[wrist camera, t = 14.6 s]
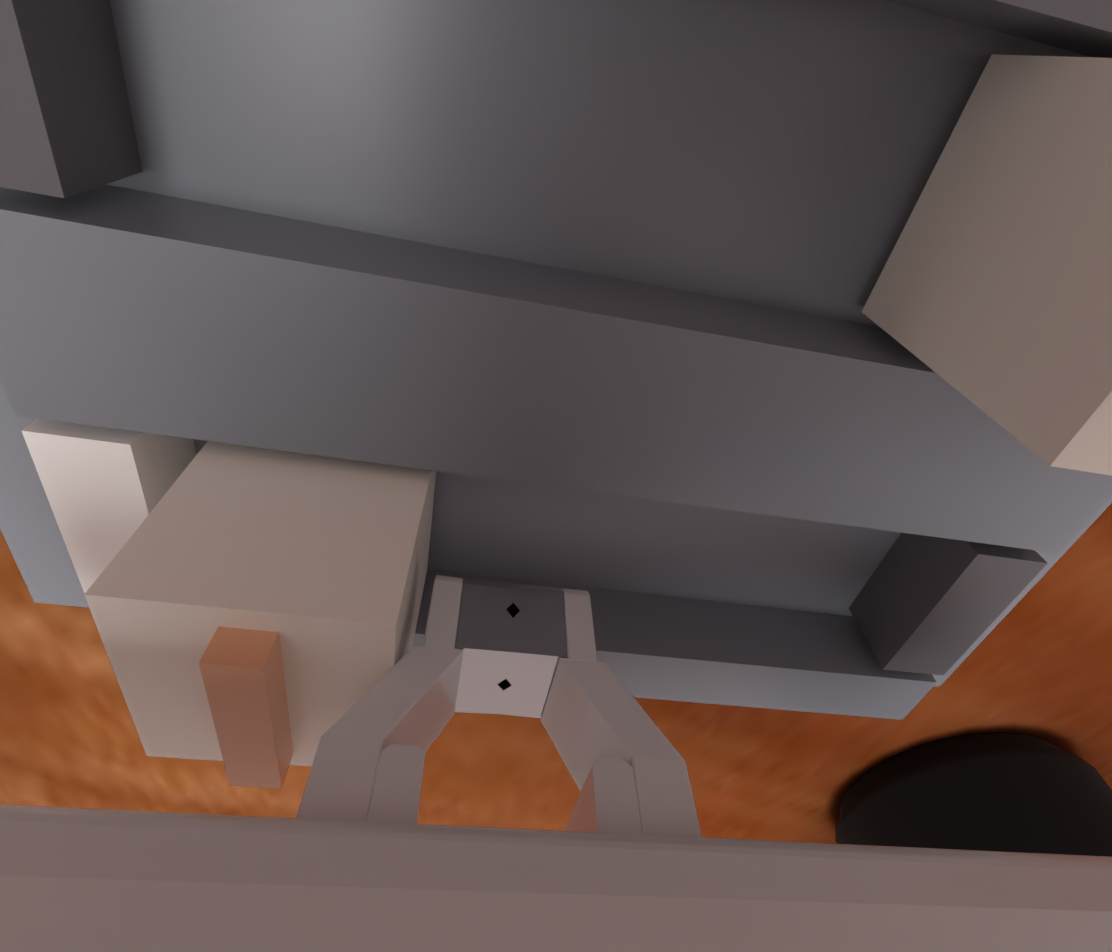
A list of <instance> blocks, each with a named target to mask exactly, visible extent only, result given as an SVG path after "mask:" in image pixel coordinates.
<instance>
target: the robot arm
mask: <svg viewBox="0 0 1112 952" xmlns="http://www.w3.org/2000/svg"><path fill="white" fill-rule="evenodd" d="M462 585H463V587H462ZM461 593H462V594H461ZM454 712H467V713H489V714H503V715H513V716H523V717H533V718H541V722H542V724H543V726H544V727H545V729H546V731H547V733H548V735H549V736H550V738H551V740H552V742H553V744H554V745H555V747H556V749H557V751H558V752H559V754H560V756H561V758H562V760H563V761H564V763H565V765H566V767H567V769H568V770H569V772H570V774H571V776H572V777H573V779H574V781H575V783H576V785H577V786H578V788H579V790H580V794H579V797H578V799H577V801H576V804H575V806H574V808H573V811H572V813H571V815H570V818H569V820H568V822H567V825H566V827H565V829H564V831H556V830H534V829H513V828H491V827H470V826H448V825H426V824H418V815H419V806H420V798H421V789H422V780H423V771H424V762H425V753H426V752H427V750H428V749H429V748H430V746H431V745H432V744H433V742H434V741H435V740H436V738H437V737H438V736H439V734H440V733H441V732H442V730H443V729H444V728H445V726H446V725H447V724H448V722H449V721H450V720H451V718H452V717H453V716H454ZM0 952H1112V857H1107V856H1086V855H1065V854H1044V853H1022V852H1001V851H979V850H958V849H937V848H915V847H894V846H873V845H851V844H830V843H808V842H787V841H766V840H744V839H723V838H702V836H701V831H700V827H699V822H698V817H697V813H696V808H695V803H694V799H693V794H692V790H691V785H690V780H689V776H688V771H687V766H686V762H685V760H684V759H683V758H682V756H681V755H680V754H679V753H678V751H677V750H676V749H675V748H674V747H673V745H672V744H671V743H670V742H669V740H668V739H667V738H666V737H665V735H664V734H663V733H662V732H661V731H660V729H659V728H658V727H657V726H656V724H655V723H654V722H653V721H652V719H651V718H650V717H649V716H648V714H647V713H646V712H645V711H644V710H643V708H642V707H641V706H640V705H639V703H638V702H637V701H636V700H635V698H634V697H633V696H632V695H631V694H630V692H629V691H628V690H627V689H626V687H625V686H624V685H623V684H622V682H621V681H620V680H619V679H618V677H617V676H616V675H615V674H614V673H613V671H612V670H611V669H610V668H609V666H608V665H607V664H606V663H605V662H601V661H597V654H596V645H595V636H594V627H593V618H592V610H591V601H590V594H589V593H588V591H584V590H574V589H563V588H562V589H561V588H554V587H543V586H532V585H522V584H507V583H500V582H492V581H484V580H476V579H469V578H464V580H463V578H457V577H449V576H441V575H436V578H435V581H434V586H433V592H432V597H431V603H430V609H429V614H428V620H427V626H426V631H425V637H424V643H423V646H419V645H415V646H414V647H413V648H412V649H410V650H409V651H408V652H407V653H406V654H405V655H404V656H403V657H402V658H401V659H400V660H399V661H398V662H397V663H396V664H395V665H394V667H392V668H391V669H390V670H389V671H388V672H387V673H386V674H385V675H384V676H383V677H382V678H381V679H380V680H379V681H378V682H377V683H375V684H374V685H373V686H372V687H371V688H370V689H369V690H368V691H367V692H366V693H365V694H364V695H363V696H362V697H361V698H360V699H359V700H358V701H357V702H356V703H355V704H354V705H353V706H352V707H351V708H350V709H349V710H348V711H347V712H346V713H345V714H344V715H343V716H341V717H340V718H339V719H338V720H337V721H336V722H335V723H334V724H333V725H332V726H331V727H330V728H329V729H328V730H327V731H326V732H325V733H324V734H323V735H322V736H321V738H320V741H319V745H318V748H317V751H316V754H315V758H314V761H313V764H312V768H311V771H310V774H309V777H308V781H307V784H306V787H305V790H304V794H303V797H302V800H301V803H300V807H299V810H298V813H297V817H296V818H277V817H256V816H235V815H213V814H192V813H171V812H149V811H128V810H107V809H86V808H65V807H44V806H23V805H2V804H0Z"/></svg>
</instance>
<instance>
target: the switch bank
mask: <svg viewBox="0 0 1112 952" xmlns="http://www.w3.org/2000/svg"><path fill="white" fill-rule="evenodd" d="M992 54H996V55H1030V56H1064V57H1097V58H1112V0H0V529H1V531H2V533H3V536H4V538H5V540H6V542H7V544H8V546H9V549H10V551H11V553H12V555H13V557H14V559H15V561H16V564H17V566H18V568H19V570H20V572H21V574H22V577H23V579H24V581H25V583H26V585H27V587H28V590H29V592H30V594H31V596H32V598H33V600H34V602H35V603H46V604H57V605H67V606H78V607H89V606H88V603H87V601H86V598H85V595H84V594H85V593H86V592H87V590H88V589H89V588H90V587H91V586H92V584H93V583H94V582H95V581H96V579H97V578H98V577H99V576H100V574H101V573H102V572H103V571H104V569H105V568H106V567H107V566H108V564H109V563H110V562H111V561H112V559H113V558H114V557H115V556H116V554H117V553H118V552H119V551H120V549H121V548H122V547H123V546H124V545H125V543H126V542H127V541H128V540H129V538H130V537H131V536H132V535H133V533H134V532H135V531H136V530H137V528H138V527H139V526H140V525H141V523H142V522H143V521H144V520H145V518H146V517H147V516H148V515H149V513H150V512H151V511H152V510H153V508H154V507H155V506H156V505H157V504H158V502H159V501H160V500H161V499H162V497H163V496H164V495H165V494H166V492H167V491H168V490H169V489H170V487H171V486H172V485H173V484H174V482H175V481H176V480H177V479H178V477H179V476H180V475H181V474H182V472H183V471H184V470H185V469H186V467H187V466H188V465H189V464H190V463H191V461H192V460H193V459H194V458H195V456H196V455H197V454H198V453H199V451H200V450H201V449H202V448H203V446H204V445H205V444H206V443H207V441H212V442H220V443H227V444H235V445H243V446H250V447H258V448H265V449H273V450H280V451H288V452H296V453H303V454H311V455H318V456H326V457H333V458H341V459H348V460H356V461H364V462H371V463H379V464H386V465H394V466H401V467H409V468H417V469H424V470H432V471H436V480H435V491H434V502H433V513H432V523H431V534H430V545H429V556H428V567H427V574H426V579H425V584H424V589H423V594H422V600H421V605H420V610H419V615H418V620H417V625H416V631H415V636H414V641H413V646H412V648H413V647H414V646H415V645H419V646H423V643H424V637H425V631H426V626H427V620H428V614H429V609H430V603H431V597H432V592H433V586H434V581H435V578H436V575H441V576H449V577H457V578H463V580H464V578H469V579H476V580H484V581H492V582H500V583H507V584H522V585H532V586H543V587H554V588H561V589H562V588H563V589H574V590H584V591H588V593H589V594H590V601H591V610H592V618H593V627H594V636H595V645H596V654H597V661H601V662H605V663H606V664H607V665H608V666H609V668H610V669H611V670H612V671H613V673H614V674H615V675H616V676H617V677H618V679H619V680H620V681H621V682H622V684H623V685H624V686H625V687H626V689H627V690H628V691H629V692H630V694H631V695H632V696H633V697H636V698H648V699H660V700H672V701H684V702H696V703H708V704H720V705H732V706H744V707H756V708H768V709H780V710H792V711H804V712H816V713H828V714H840V715H852V716H864V717H876V718H888V719H900V720H903V719H904V718H905V716H906V715H907V714H908V713H909V712H910V711H911V710H912V709H913V708H914V707H915V706H916V705H917V704H918V702H919V701H920V700H921V699H922V698H923V697H924V696H925V695H926V694H927V693H928V692H929V691H930V690H931V688H932V687H933V686H938V687H939V686H940V685H941V684H942V683H943V682H944V681H945V680H946V679H947V678H948V677H949V676H950V675H951V674H952V673H953V671H954V670H955V669H956V668H957V667H958V666H959V665H960V664H961V663H962V662H963V661H964V660H965V659H966V658H967V657H968V656H969V654H970V653H971V652H972V651H973V650H974V649H975V648H976V647H977V646H978V645H979V644H980V643H981V642H982V641H983V640H984V638H985V637H986V636H987V635H988V634H989V633H990V632H991V631H992V630H993V629H994V628H995V627H996V626H997V625H998V624H999V622H1000V621H1001V620H1002V619H1003V618H1004V617H1005V616H1006V615H1007V614H1008V613H1009V612H1010V611H1011V610H1012V609H1013V608H1014V606H1015V605H1016V604H1017V603H1018V602H1019V601H1020V600H1021V599H1022V598H1023V597H1024V596H1025V595H1026V594H1027V593H1028V592H1029V591H1030V589H1031V588H1032V587H1033V586H1034V585H1035V584H1036V583H1037V582H1038V581H1039V580H1040V579H1041V578H1042V577H1043V576H1044V575H1045V573H1046V572H1047V571H1048V570H1049V569H1050V568H1051V567H1052V566H1053V565H1054V564H1055V563H1056V562H1057V561H1058V560H1059V559H1060V557H1061V556H1062V555H1063V554H1064V553H1065V552H1066V551H1067V550H1068V549H1069V548H1070V547H1071V546H1072V545H1073V544H1074V543H1075V541H1076V540H1077V539H1078V538H1079V537H1080V536H1081V535H1082V534H1083V533H1084V532H1085V531H1086V530H1087V529H1088V528H1089V527H1090V525H1091V524H1092V523H1093V522H1094V521H1095V520H1096V519H1097V518H1098V517H1099V516H1100V515H1101V514H1102V513H1103V512H1104V511H1105V510H1106V508H1107V507H1108V506H1109V505H1110V504H1111V503H1112V476H1110V475H1104V474H1097V473H1091V472H1085V471H1078V470H1072V469H1065V468H1059V467H1052V466H1049V465H1048V464H1047V463H1046V462H1044V461H1043V460H1042V459H1041V458H1039V457H1038V456H1037V455H1036V454H1034V453H1033V452H1032V451H1031V450H1030V449H1028V448H1027V447H1026V446H1025V445H1023V444H1022V443H1021V442H1020V441H1019V440H1017V439H1016V438H1015V437H1014V436H1012V435H1011V434H1010V433H1009V432H1008V431H1006V430H1005V429H1004V428H1003V427H1001V426H1000V425H999V424H998V423H997V422H995V421H994V420H993V419H992V418H990V417H989V416H988V415H987V414H986V413H984V412H983V411H982V410H981V409H979V408H978V407H977V406H976V405H975V404H973V403H972V402H971V401H970V400H968V399H967V398H966V397H965V396H964V395H962V394H961V393H960V392H959V391H957V390H956V389H955V388H954V387H953V386H951V385H950V384H949V383H948V382H946V381H945V380H944V379H943V378H942V377H940V376H939V375H938V374H937V373H935V372H934V371H933V370H932V369H931V368H929V367H928V366H927V365H926V364H924V363H923V362H922V361H921V360H920V359H918V358H917V357H916V356H915V355H913V354H912V353H911V352H910V351H909V350H907V349H906V348H905V347H904V346H902V345H901V344H900V343H899V342H898V341H896V340H895V339H894V338H893V337H891V336H890V335H889V334H888V333H887V332H885V331H884V330H883V329H882V328H880V327H879V326H878V325H877V324H876V323H874V322H873V321H872V320H871V319H869V318H868V317H867V316H866V315H865V314H863V313H862V310H863V308H864V306H865V304H866V302H867V300H868V298H869V296H870V294H871V292H872V290H873V288H874V286H875V284H876V282H877V280H878V278H879V276H880V274H881V272H882V270H883V268H884V266H885V264H886V262H887V260H888V258H889V256H890V254H891V252H892V251H893V249H894V247H895V245H896V243H897V241H898V239H899V237H900V235H901V233H902V231H903V229H904V227H905V225H906V223H907V221H908V219H909V217H910V215H911V213H912V211H913V209H914V207H915V205H916V203H917V201H918V199H919V197H920V195H921V193H922V191H923V189H924V187H925V185H926V183H927V181H928V179H929V177H930V175H931V173H932V171H933V169H934V167H935V165H936V163H937V162H938V160H939V158H940V156H941V154H942V152H943V150H944V148H945V146H946V144H947V142H948V140H949V138H950V136H951V134H952V132H953V130H954V128H955V126H956V124H957V122H958V120H959V118H960V116H961V114H962V112H963V110H964V108H965V106H966V104H967V102H968V100H969V98H970V96H971V94H972V92H973V90H974V88H975V86H976V84H977V82H978V80H979V78H980V76H981V74H982V73H983V71H984V69H985V67H986V65H987V63H988V61H989V59H990V57H991V55H992ZM462 587H463V585H462ZM461 594H462V593H461Z"/></svg>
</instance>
